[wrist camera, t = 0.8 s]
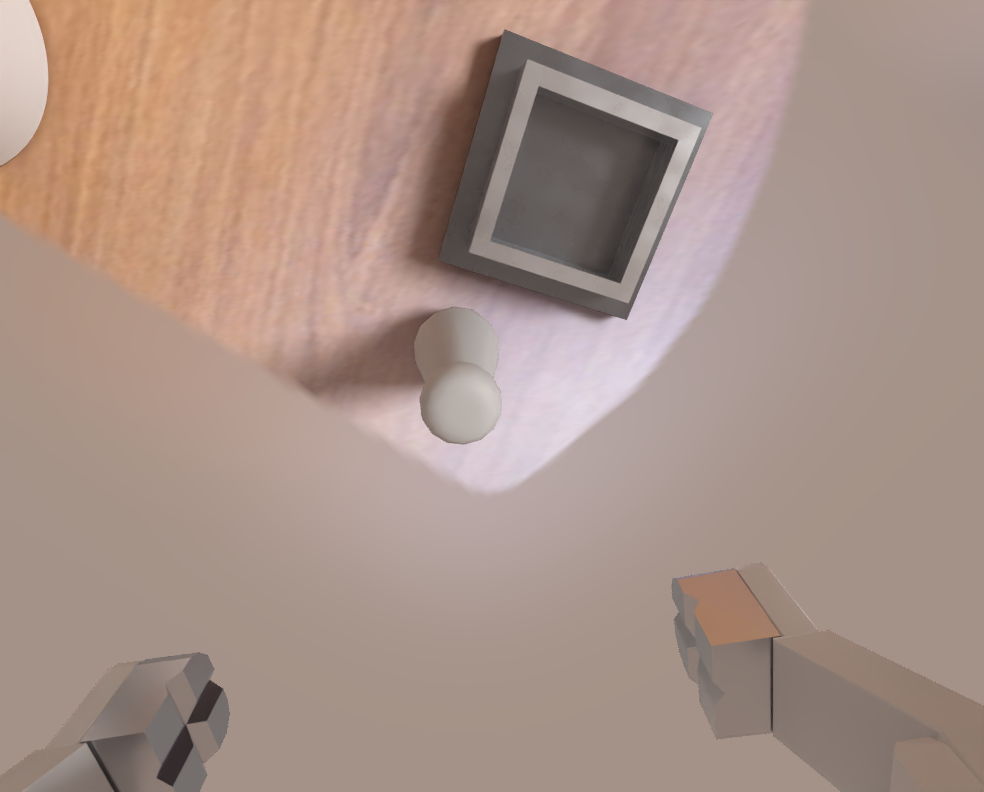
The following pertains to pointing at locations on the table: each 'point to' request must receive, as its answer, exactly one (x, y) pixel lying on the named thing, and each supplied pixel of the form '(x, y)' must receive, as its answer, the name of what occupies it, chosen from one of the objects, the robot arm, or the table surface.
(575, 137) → the socket block
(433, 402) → the salt shaker
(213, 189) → the table surface
